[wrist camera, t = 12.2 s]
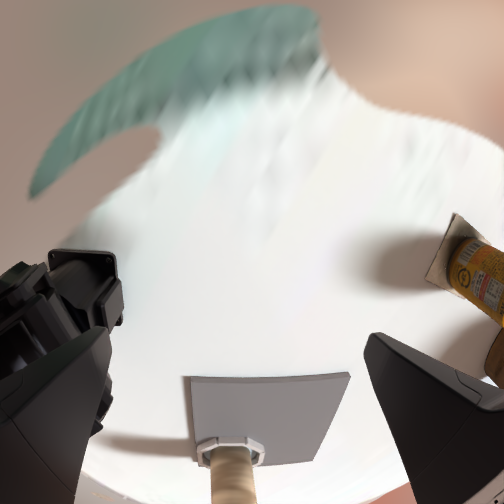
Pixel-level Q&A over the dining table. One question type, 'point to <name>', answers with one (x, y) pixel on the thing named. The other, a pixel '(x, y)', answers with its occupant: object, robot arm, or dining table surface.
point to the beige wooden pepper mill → (232, 476)
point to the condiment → (470, 269)
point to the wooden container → (496, 361)
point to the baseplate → (265, 415)
